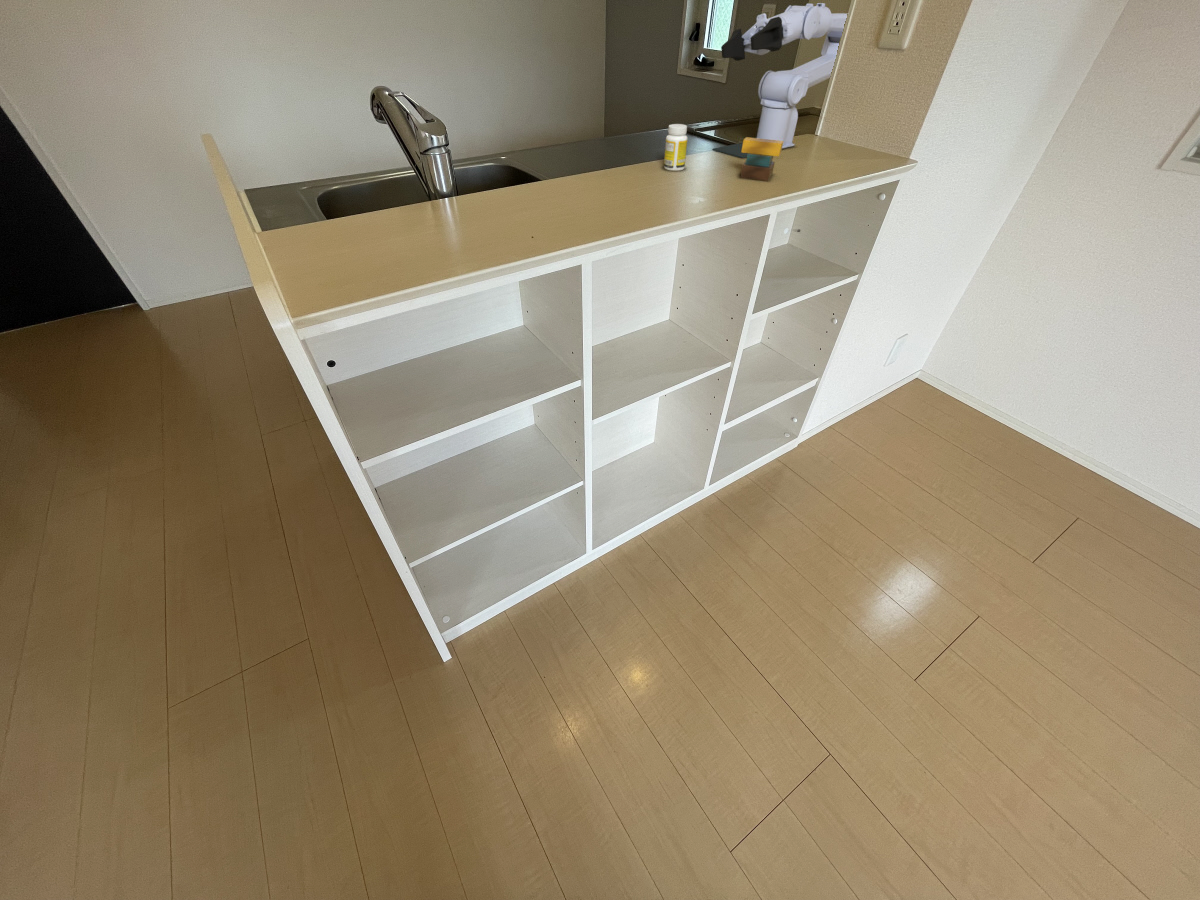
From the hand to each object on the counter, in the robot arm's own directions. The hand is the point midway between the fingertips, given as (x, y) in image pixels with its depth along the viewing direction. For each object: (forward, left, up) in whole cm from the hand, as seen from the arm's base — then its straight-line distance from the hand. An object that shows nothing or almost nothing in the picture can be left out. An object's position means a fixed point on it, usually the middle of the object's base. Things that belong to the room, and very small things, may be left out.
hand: (737, 47), depth 108 cm
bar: (+4, +14, -17) cm, 22 cm away
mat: (-12, -3, -21) cm, 25 cm away
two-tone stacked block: (+4, +14, -21) cm, 26 cm away
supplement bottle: (+15, -1, -21) cm, 26 cm away
